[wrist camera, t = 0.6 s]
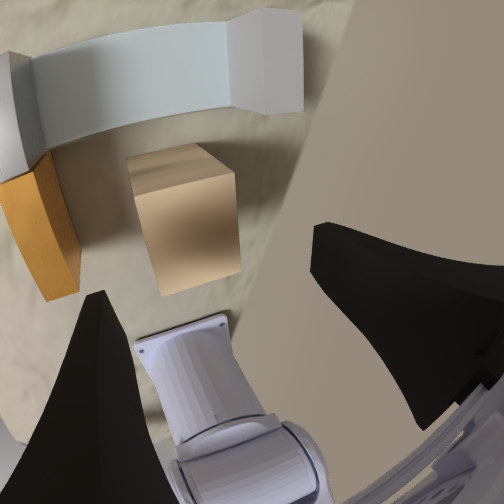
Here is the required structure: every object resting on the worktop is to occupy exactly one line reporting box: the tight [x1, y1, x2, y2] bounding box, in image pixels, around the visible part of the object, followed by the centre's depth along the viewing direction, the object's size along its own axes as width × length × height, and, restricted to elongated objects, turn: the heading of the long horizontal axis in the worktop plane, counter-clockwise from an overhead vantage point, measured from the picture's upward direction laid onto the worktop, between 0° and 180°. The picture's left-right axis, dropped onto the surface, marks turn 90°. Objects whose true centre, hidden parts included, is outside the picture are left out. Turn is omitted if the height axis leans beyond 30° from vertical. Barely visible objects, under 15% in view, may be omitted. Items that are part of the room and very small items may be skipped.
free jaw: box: [0, 51, 82, 302], centre depth 10 cm, size 12×2×4 cm, turn 2°
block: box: [126, 143, 242, 297], centre depth 14 cm, size 5×4×6 cm
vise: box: [32, 7, 304, 149], centre depth 10 cm, size 5×14×5 cm, turn 92°
